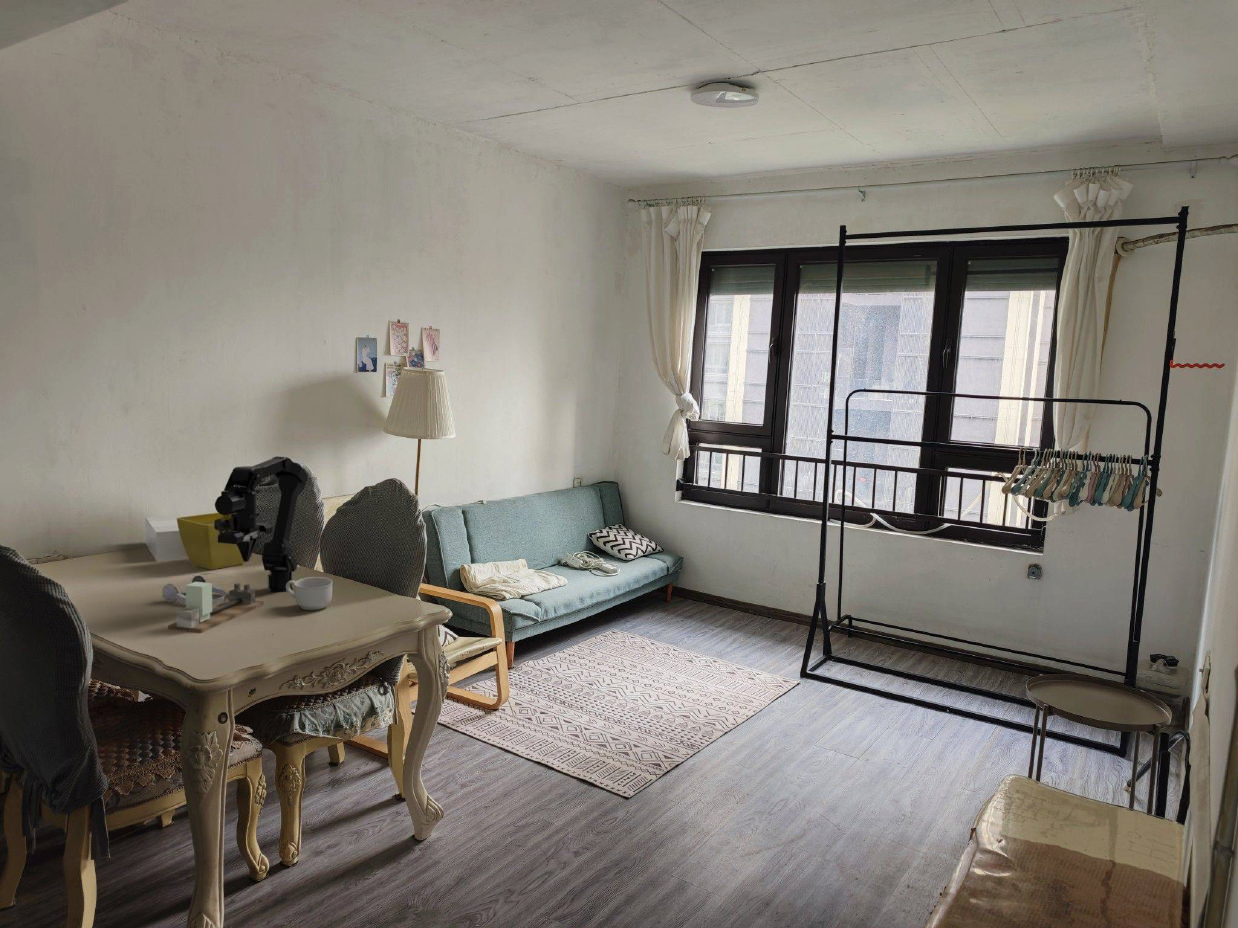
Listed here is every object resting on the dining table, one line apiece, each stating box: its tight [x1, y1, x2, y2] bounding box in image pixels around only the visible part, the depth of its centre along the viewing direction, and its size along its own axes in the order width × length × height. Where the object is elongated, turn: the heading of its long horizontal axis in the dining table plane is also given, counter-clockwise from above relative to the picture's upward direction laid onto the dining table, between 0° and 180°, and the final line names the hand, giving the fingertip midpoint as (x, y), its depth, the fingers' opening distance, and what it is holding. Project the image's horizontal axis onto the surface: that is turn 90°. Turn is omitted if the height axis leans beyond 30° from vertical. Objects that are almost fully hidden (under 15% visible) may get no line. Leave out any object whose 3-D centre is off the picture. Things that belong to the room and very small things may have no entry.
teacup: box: [286, 576, 333, 611], centre depth 254 cm, size 14×11×8 cm
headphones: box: [161, 575, 226, 605], centre depth 258 cm, size 17×6×20 cm
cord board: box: [167, 582, 264, 634], centre depth 241 cm, size 28×10×6 cm, turn 170°
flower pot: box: [177, 512, 245, 570], centre depth 298 cm, size 19×19×17 cm
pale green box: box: [185, 582, 213, 622], centre depth 233 cm, size 4×5×10 cm
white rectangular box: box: [144, 514, 189, 562], centre depth 315 cm, size 32×11×11 cm, turn 35°
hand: (246, 561), depth 252 cm, fingers closed
